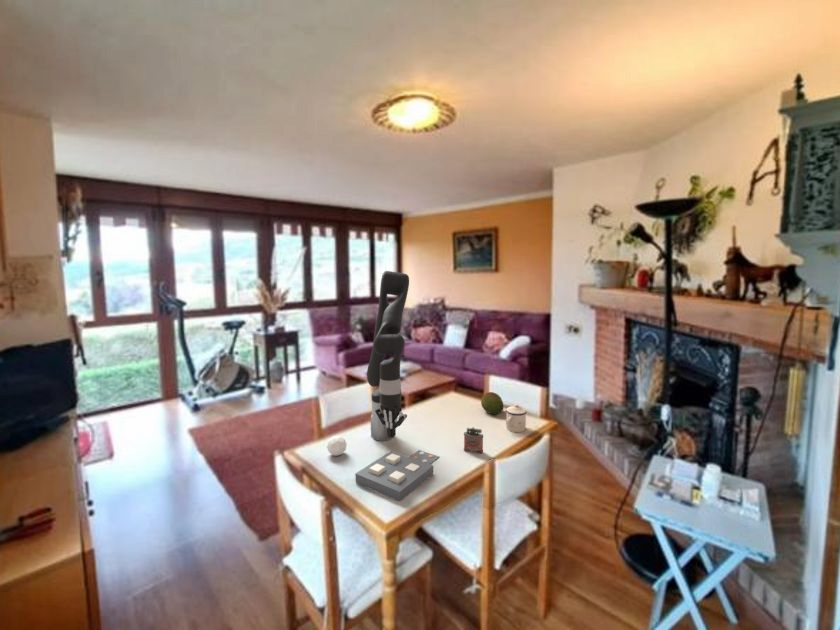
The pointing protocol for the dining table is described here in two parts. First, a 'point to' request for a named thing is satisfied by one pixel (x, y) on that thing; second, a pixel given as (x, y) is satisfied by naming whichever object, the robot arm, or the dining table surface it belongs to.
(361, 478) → the button box
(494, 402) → the fruit
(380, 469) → the button
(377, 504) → the dining table surface
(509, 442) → the dining table surface
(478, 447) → the lighter
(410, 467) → the button
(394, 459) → the button
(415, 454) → the pattern card
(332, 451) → the geometric ball
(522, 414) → the teacup with lid
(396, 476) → the button
